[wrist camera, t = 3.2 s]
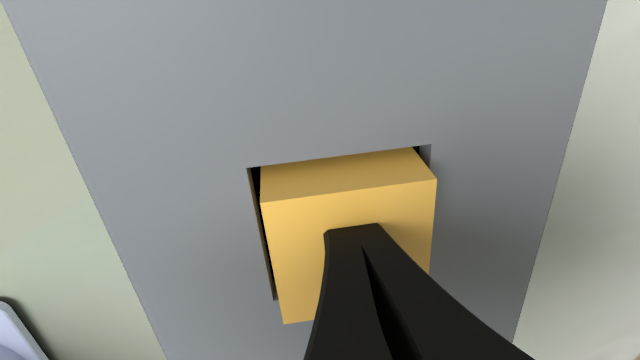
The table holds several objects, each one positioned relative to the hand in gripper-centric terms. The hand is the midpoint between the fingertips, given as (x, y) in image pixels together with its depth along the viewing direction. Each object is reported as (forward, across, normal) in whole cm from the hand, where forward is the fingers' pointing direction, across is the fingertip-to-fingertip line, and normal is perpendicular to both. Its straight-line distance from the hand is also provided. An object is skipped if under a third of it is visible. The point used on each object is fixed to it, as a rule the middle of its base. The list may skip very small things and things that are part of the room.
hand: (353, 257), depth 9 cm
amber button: (+4, 0, 0) cm, 4 cm away
